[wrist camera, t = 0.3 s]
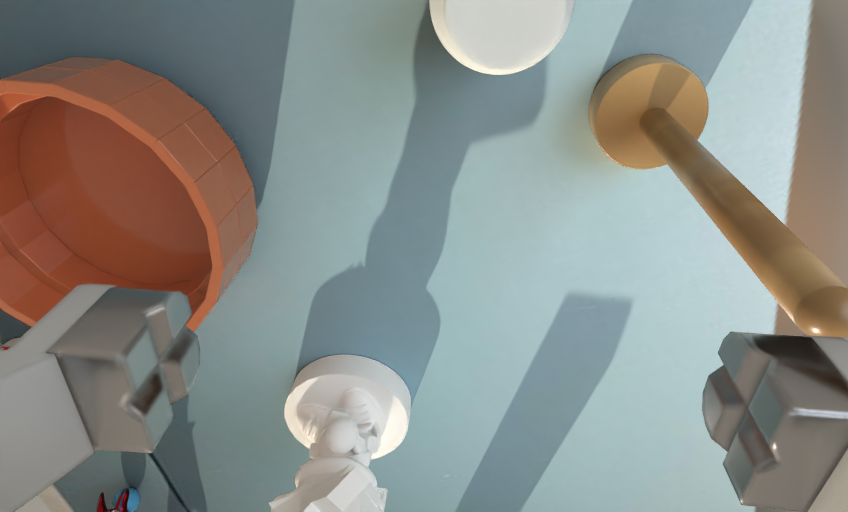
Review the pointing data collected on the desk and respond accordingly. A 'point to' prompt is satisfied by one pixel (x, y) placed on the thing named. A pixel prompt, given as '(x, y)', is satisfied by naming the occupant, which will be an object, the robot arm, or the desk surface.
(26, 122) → the bowl
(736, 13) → the desk surface
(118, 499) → the hoverbike
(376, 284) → the desk surface
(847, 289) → the wooden post stand
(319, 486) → the character figurine
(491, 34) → the supplement bottle
